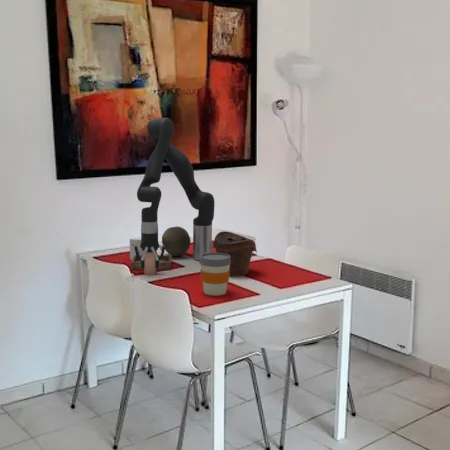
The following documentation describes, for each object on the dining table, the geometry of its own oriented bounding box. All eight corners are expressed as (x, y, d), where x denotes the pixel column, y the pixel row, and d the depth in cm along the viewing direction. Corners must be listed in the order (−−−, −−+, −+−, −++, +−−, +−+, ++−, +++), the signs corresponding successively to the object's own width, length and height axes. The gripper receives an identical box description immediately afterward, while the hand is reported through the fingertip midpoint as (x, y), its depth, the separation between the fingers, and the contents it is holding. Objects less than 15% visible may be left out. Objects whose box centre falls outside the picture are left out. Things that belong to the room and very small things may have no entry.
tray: (171, 262, 300) (171, 255, 300) (170, 269, 286) (170, 262, 286) (133, 262, 299) (133, 255, 299) (131, 270, 285) (131, 262, 285)
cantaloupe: (165, 252, 320) (164, 223, 317) (192, 253, 318) (192, 224, 315) (159, 259, 306) (159, 229, 303) (188, 260, 305) (188, 230, 302)
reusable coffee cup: (193, 293, 251) (193, 257, 249) (211, 286, 262) (211, 251, 259) (219, 298, 245) (219, 261, 242) (236, 291, 255) (236, 255, 252)
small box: (148, 257, 309) (148, 237, 307) (146, 260, 303) (145, 239, 301) (132, 257, 309) (132, 236, 307) (129, 260, 304) (129, 238, 302)
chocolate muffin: (253, 279, 272) (253, 238, 269) (208, 276, 276) (208, 236, 273) (259, 269, 290) (259, 231, 287) (217, 267, 294) (217, 229, 291)
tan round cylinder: (156, 271, 283) (156, 250, 281) (155, 275, 278) (155, 253, 276) (144, 271, 282) (144, 250, 281) (143, 275, 277) (143, 253, 276)
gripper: (166, 229, 281) (166, 266, 284) (134, 229, 280) (134, 266, 283) (165, 232, 273) (165, 270, 276) (132, 232, 272) (133, 270, 276)
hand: (150, 268), depth 280 cm, fingers closed on tan round cylinder, 5 cm apart
